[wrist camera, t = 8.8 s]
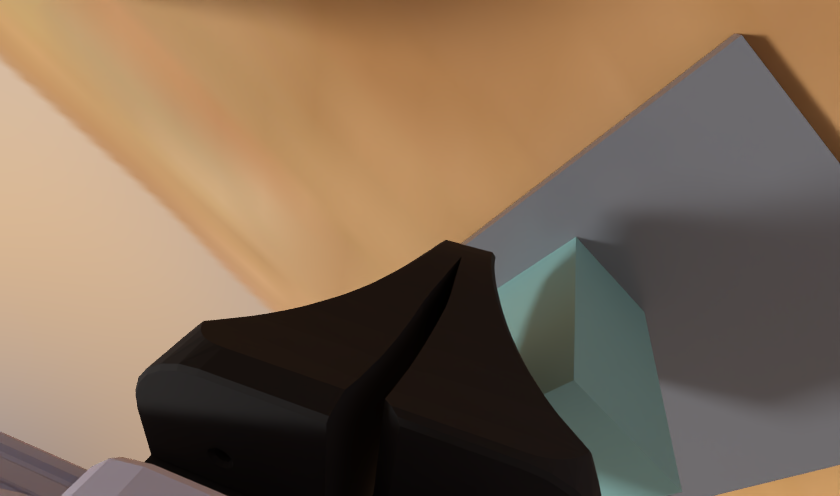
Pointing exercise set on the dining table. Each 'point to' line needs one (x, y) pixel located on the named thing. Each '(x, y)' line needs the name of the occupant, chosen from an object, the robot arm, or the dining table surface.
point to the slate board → (712, 264)
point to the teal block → (594, 367)
